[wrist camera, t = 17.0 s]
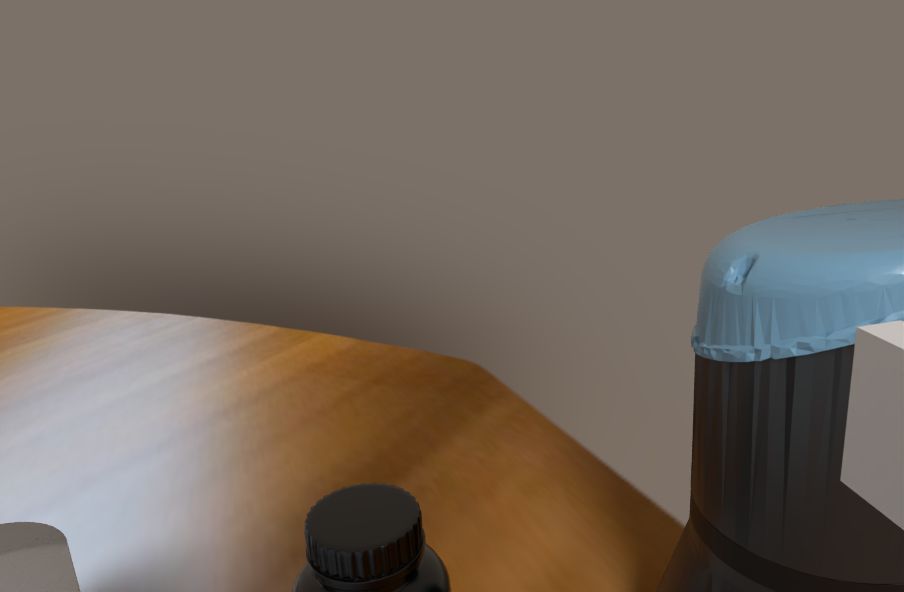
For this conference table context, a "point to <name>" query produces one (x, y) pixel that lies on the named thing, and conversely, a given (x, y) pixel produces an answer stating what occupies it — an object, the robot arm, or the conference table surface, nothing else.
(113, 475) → the conference table surface
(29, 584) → the cylinder
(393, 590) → the supplement bottle
